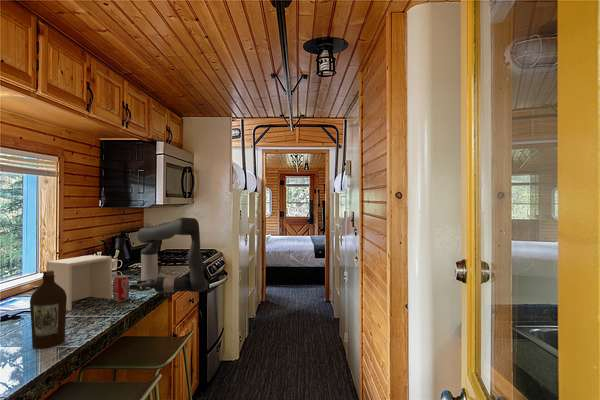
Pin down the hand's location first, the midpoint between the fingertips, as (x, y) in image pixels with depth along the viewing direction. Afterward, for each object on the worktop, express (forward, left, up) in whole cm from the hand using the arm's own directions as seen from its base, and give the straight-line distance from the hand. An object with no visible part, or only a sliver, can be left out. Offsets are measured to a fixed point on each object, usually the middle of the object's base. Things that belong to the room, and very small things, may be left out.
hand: (133, 284), depth 185 cm
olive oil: (+50, -25, -8) cm, 56 cm away
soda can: (-2, -6, -8) cm, 10 cm away
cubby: (-5, -24, -8) cm, 26 cm away
